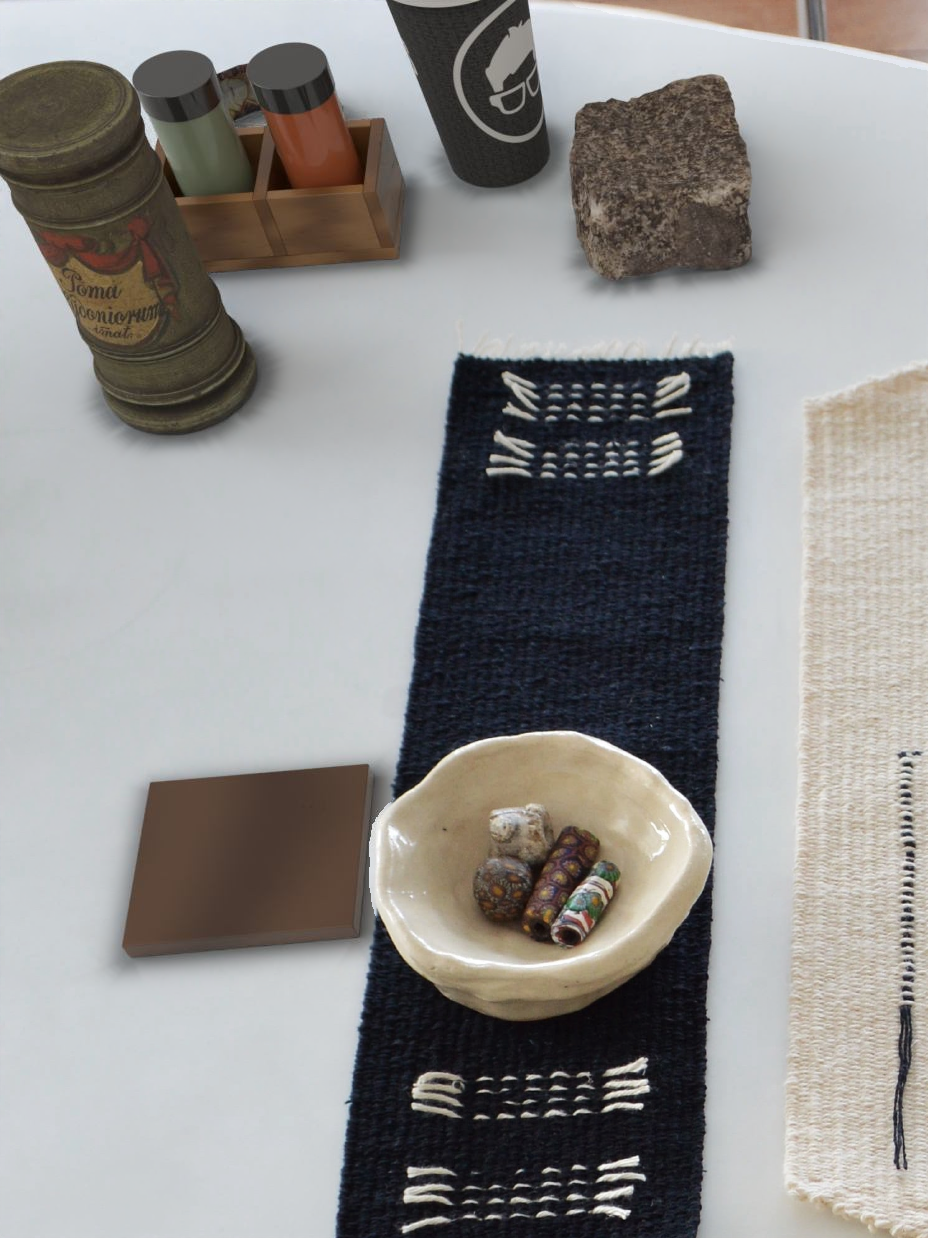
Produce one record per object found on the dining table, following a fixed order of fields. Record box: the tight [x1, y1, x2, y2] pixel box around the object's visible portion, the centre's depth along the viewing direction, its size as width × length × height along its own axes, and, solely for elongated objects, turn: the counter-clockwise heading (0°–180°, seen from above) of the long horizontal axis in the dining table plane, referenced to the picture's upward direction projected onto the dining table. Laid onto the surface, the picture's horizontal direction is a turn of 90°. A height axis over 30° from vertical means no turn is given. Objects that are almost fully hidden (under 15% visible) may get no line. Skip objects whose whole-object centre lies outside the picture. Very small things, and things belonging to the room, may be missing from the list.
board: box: [121, 763, 375, 958], centre depth 92 cm, size 11×10×1 cm
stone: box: [568, 73, 753, 281], centre depth 116 cm, size 11×13×6 cm
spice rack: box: [154, 117, 407, 274], centre depth 116 cm, size 14×7×5 cm, turn 96°
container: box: [0, 59, 258, 436], centre depth 103 cm, size 9×9×18 cm
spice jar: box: [246, 41, 365, 189], centre depth 113 cm, size 5×5×10 cm
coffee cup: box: [385, 0, 551, 188], centre depth 115 cm, size 10×10×15 cm
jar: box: [131, 49, 256, 197], centre depth 113 cm, size 5×5×10 cm
